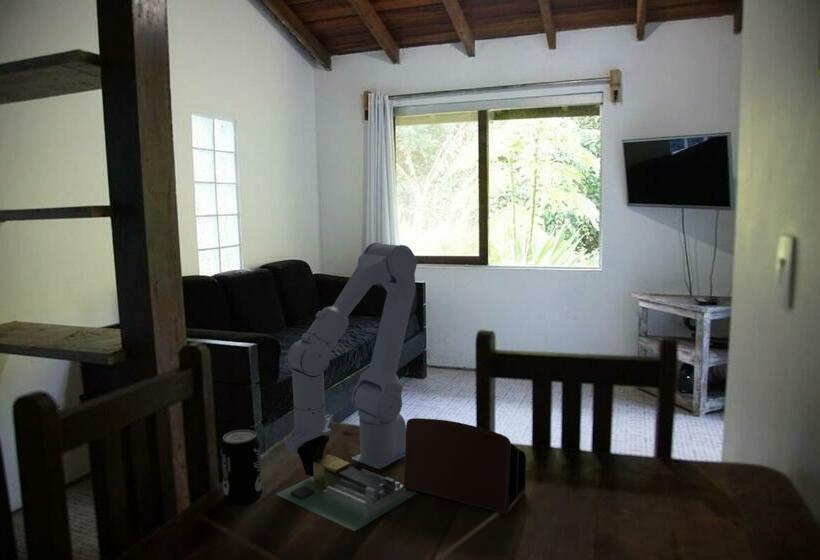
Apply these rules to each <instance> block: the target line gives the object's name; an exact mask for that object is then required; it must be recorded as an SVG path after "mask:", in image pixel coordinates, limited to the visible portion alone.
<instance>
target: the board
mask: <svg viewBox="0 0 820 560" xmlns="http://www.w3.org/2000/svg"><path fill="white" fill-rule="evenodd" d="M349 467H352V468H354V469H356V470H358V469H357V467H354V466H351V465H350V466H349ZM343 480H344V479H341V481H343ZM417 494H418V492H416V491H412V490H408V489H405V488H404V498H405V499H403V500H401V501H400V502H398V503H396V504H395V505H393V506H391V507H390V508H388V509H386V510H385V511H383V512H381V513H380V514H378V515H377V516H375V517H373V518H372V519H370V520H368V521H367V522H363V521H361V520H359V519H357V518H354V517H352V516H350V515H348V514H345V513H343V512H341V511H339V510H337V509H334V508H332V507H330V506H328V505H325V504H324V501H323V491H321V490H319V489H316V488H314V476H309V477H308V478H306V479H304V480H301V481H300V482H298V483H296V484H294V485H292V486H289V487H288V488H285V489H284V490H281V491H279V492H277V493H275V496H278V497H280V498H282V499H285V500H286V501H288V502H291V503H292V504H295V505H297V506H299V507H302V508H304V509H305V510H308V511H309V512H312V513H314V514H317V515H318V516H320V517H322V518H324V519H327V520H328V521H331V522H333V523H335V524H337V525H340V526H342V527H344V528H346V529H348V530H350V531H353V532H356V531H358V530H359V529H361V528H363V527H364V526H366V525H367V524H370V522H372V521H374V520H376V519H378V518H379V517H380V516H383V515H384V514H385V513H387V512H389V511H390V510H392V509H394V508H396V507H398V506H399V505H401V504H402V503H404V502H406V501H407V500H408V499H411V498H412V497H414V496H415V495H417Z"/></svg>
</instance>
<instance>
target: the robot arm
mask: <svg viewBox="0 0 820 560" xmlns="http://www.w3.org/2000/svg"><path fill="white" fill-rule="evenodd" d="M357 260H358V261H357V265H356V268H355V269H354V271H353V273H352V274H351V276H350V277H349V279H348V281H347V282H346V284H345V285H344V287H343V289H342V290H341V292H340V294H339V295H338V297H337V298H336V300H335V302H334V303H333V305H331V306H327V307H324V308H323V309H322V310H319V311H317V312H316V314H315V319H314V321H313V322H312V323H311V325H310V327H309V328H308V330H306V332H305V333H303V334H302V336H301V339H299V340H297V341H295V342H293V344H291V346H290V347H289V349H288V351H287V355H285V356H284V360H285V363H286V365H287V366H288V367H289V369H290V370H291V376H292V378H291V379H292V396H293V398H292V399H293V415H294V416H293V419H294V427H293V429H292V431H291V433H290V435H289V436H288V439H287V440H285V442H284V451H285V453H288V454H289V453H290V454H296V453H297V454H298V456H299V459H300V461H301V463H302V468H303V470H304V473H305V475H306V476H308V477H312V476H314V472H313V462H314V461H316V460H318V459H320V458H322V457H324V452H325V449H326V448H327V447H326V446H327V444H328V443H329V441H330V434H331V433H332V428H330V427H332V426H333V425H334V424H335V423H334V414H327V413H326V402H325V401H326V400H325V376H324V375H325V374H324V372H325V371H326V370H327V369H328V367H329V366H330V362H331V354H332V353H333V351H332V350H333V348H334V347H335V346H336V344H337V343H338V342H339V340H340V338H341V337H342V336H343V334H344V333H345V331H346V330H347V328H348V327H349V326H350V324H349V323H350V322H349V315H350V314H351V312H352V311H353V310H354V309H355V308H356V306H357V305H358V304H359V303H360V301H362V299H363V298H364V296H365V295H366V294H367V293H368V292H369V290H370V289H371V287H372V286H375V285H377V284H381V285H382V286H383V288H384V290H385V291H386V297H385V301H384V305H383V310H382V312H381V313H382V314H381V317H380V321H379V327H378V330H377V334H376V339H375V342H374V347H373V352H372V355H371V361H370V365H369V367H368V368H367V369H366V370H364V371H363V372H362V373H361V374H360V375H359V380H358V383H357V384H356V385H355V387H354V388H353V391H352V393H351V403H352V405H353V407H354V408H355V409H356V410H357V415H358V418H359V419H358V420H359V446H360V449H359V454H357V455H354V456H352V457H351V460H354V461H355V462H356V461H357V462H358V463H362V464H365V465H367V466H370V467H373V468H375V469H382V468H384V467H386V466H388V465H390V464H392V463H394V462H397V461H398V460H400V459H402V458H403V457H404V458H405V449H406V421H405V419H404V417H403V415H402V414H401V410H402V407H403V399H402V393H403V392H402V390H403V387H404V386H403V384H402V382H401V381H400V379H399V377H398V375H397V371H398V367H399V363H400V359H401V354H402V350H403V345H404V341H405V337H406V333H407V329H408V324H409V319H410V315H411V310H412V308H413V307H412V306H413V302H414V299H415V298H414V297H415V295H416V285H417V284H416V276H415V274H416V270H417V265H418V259H417V257H416V256H415V254H414V252H413V251H412V249H411V248H410V247H409V246H407V245H404V244H398V245H397V244H387V243H382V242H373V243H370V244H368V245H367V247H365V249H364V251H363V253H362V254H361V255H360V256H359V257H358V259H357Z"/></svg>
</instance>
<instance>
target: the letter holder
mask: <svg viewBox="0 0 820 560" xmlns="http://www.w3.org/2000/svg"><path fill="white" fill-rule="evenodd" d="M405 424H406V449H405V454H404V455H405V456H404V459H405V461H404V479H403V481H404V482H403V486H404V488H405V489H408V490H411V491H414V492H416V493H421V494H425V495H427V496H428V495H429V496H432V497H436V498H440V499H444V500H448V501H451V502H455V503H459V504H463V505H467V506H471V507H474V508H475V507H476V508H479V509H482V510H486V511H488V512H489V511H490V512H493V513H494V512H495V513H497V514H502V515H505V516H507V515H508V514H509V513H510V512H511V510H512V509H513V508H514V506H515V505H516V504H517V502H519V500H521V498H522V496H524V494H525V493H526V488H527V487H526V486H527V482H526V481H527V475H526V474H527V455H526V453H525V451H523V450H522V449H520V448H518V447H517V446H516V445H515V444H513V443H511V440H510V439H509V437H507V436H505V435H503V434H502V433H498V432H495V431H493V430H489V429H486V428H482V427H479V426H475V425H472V424H471V425H470V424H468V423H463V422H460V421H459V422H457V421H453V420H447V419H446V420H445V419H436V418H435V419H434V418H419V417H415V418H414V417H412V418H409V419H407V421H406V422H405Z"/></svg>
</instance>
